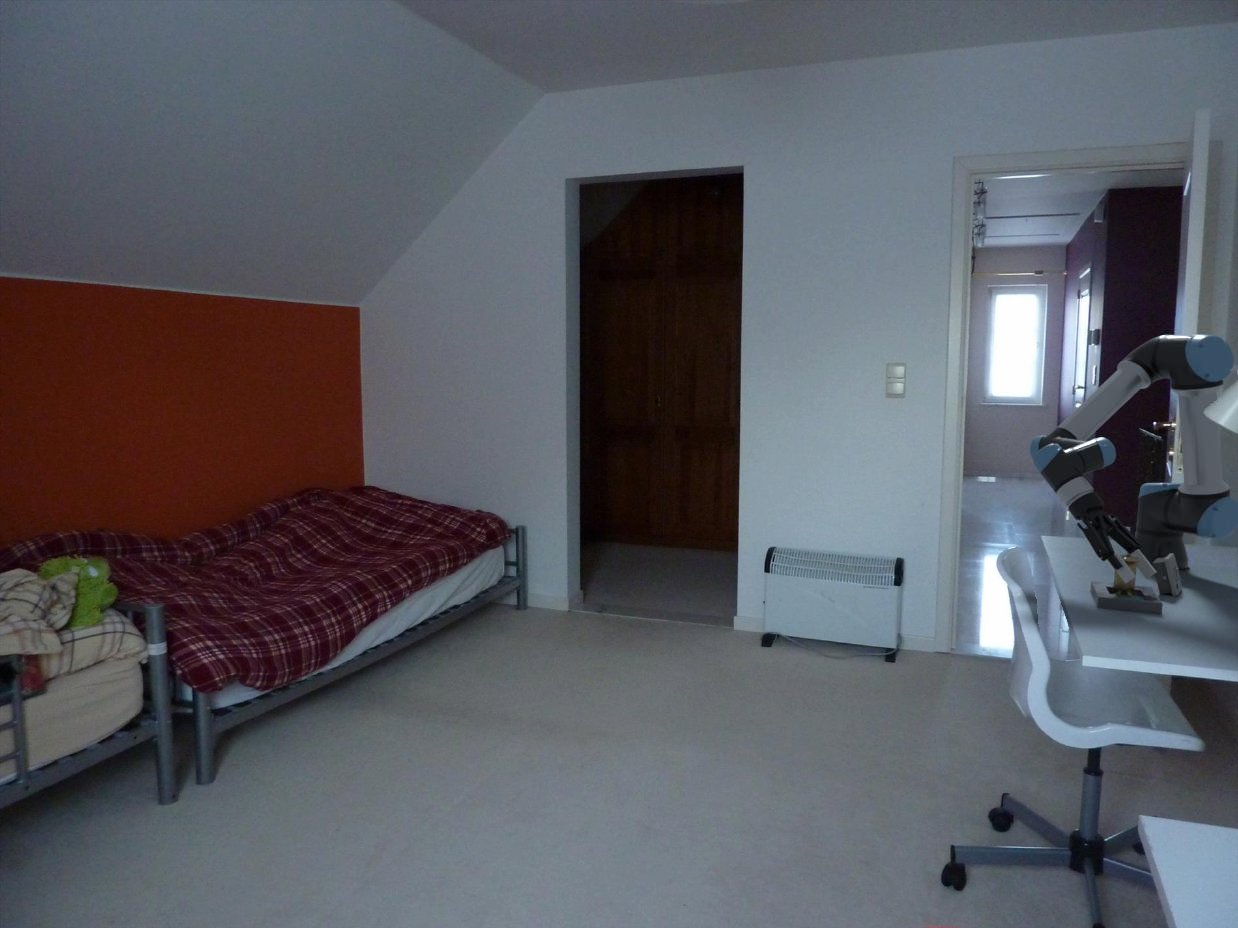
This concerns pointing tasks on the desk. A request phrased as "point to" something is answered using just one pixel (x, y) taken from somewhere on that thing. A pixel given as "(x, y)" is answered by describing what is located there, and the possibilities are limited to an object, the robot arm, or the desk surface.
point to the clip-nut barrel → (1119, 584)
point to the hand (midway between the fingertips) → (1141, 577)
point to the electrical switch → (1167, 575)
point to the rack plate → (1126, 599)
